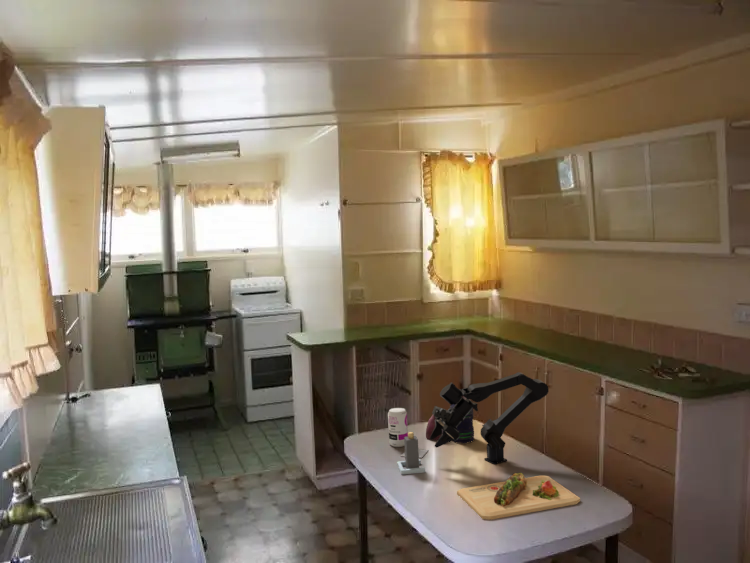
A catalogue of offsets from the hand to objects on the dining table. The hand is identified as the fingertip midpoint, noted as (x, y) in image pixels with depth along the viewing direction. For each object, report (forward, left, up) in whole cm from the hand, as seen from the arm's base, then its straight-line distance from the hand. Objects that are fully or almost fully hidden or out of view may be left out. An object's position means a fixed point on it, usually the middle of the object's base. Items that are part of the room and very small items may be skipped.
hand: (432, 442), depth 251 cm
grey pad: (+17, -2, -9) cm, 19 cm away
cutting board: (-41, -6, -10) cm, 42 cm away
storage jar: (+19, -28, -10) cm, 35 cm away
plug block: (+3, +8, -9) cm, 13 cm away
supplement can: (+31, -3, -9) cm, 32 cm away
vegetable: (+29, -21, -10) cm, 37 cm away
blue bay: (+3, +8, -9) cm, 13 cm away
